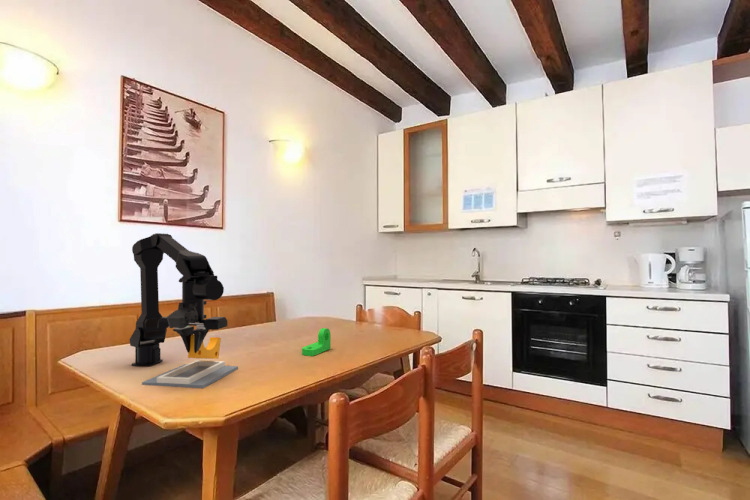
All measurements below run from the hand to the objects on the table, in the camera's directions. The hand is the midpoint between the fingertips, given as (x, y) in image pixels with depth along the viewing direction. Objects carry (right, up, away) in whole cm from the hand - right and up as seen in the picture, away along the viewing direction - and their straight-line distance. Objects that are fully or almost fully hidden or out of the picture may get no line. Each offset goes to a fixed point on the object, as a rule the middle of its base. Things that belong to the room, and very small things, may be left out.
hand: (192, 352), depth 112 cm
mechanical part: (+31, -8, +30) cm, 44 cm away
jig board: (0, -7, 0) cm, 7 cm away
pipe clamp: (0, -3, +5) cm, 6 cm away
